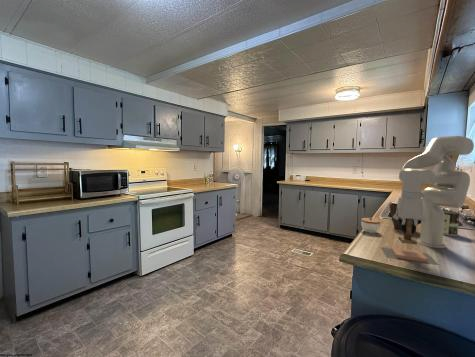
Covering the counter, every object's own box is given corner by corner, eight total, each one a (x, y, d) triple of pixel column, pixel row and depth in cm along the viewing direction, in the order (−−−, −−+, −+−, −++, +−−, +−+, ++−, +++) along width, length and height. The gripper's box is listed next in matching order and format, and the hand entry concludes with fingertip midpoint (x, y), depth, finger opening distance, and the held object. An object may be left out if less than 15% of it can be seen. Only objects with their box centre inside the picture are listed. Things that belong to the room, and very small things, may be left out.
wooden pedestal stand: (398, 238, 118) (400, 211, 117) (412, 240, 116) (415, 212, 115) (401, 242, 113) (403, 214, 112) (416, 244, 111) (419, 215, 110)
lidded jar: (371, 235, 145) (372, 220, 144) (356, 230, 154) (357, 216, 154) (383, 233, 149) (384, 218, 148) (368, 228, 159) (369, 214, 158)
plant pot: (382, 226, 164) (384, 204, 163) (396, 224, 170) (397, 202, 169) (405, 232, 151) (407, 208, 149) (419, 230, 157) (421, 206, 156)
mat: (380, 247, 123) (380, 247, 123) (427, 254, 116) (427, 253, 116) (386, 258, 110) (386, 257, 110) (439, 265, 103) (439, 265, 103)
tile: (391, 247, 119) (396, 254, 110) (419, 251, 115) (427, 258, 105) (390, 250, 119) (395, 257, 110) (419, 254, 115) (427, 262, 105)
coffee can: (456, 233, 152) (458, 211, 151) (458, 237, 144) (460, 214, 143) (435, 230, 159) (437, 209, 157) (436, 233, 150) (438, 211, 149)
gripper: (428, 195, 113) (425, 232, 115) (389, 193, 119) (386, 228, 121) (435, 197, 106) (431, 237, 108) (392, 195, 112) (390, 232, 114)
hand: (408, 232), depth 114 cm, fingers closed on wooden pedestal stand, 3 cm apart
